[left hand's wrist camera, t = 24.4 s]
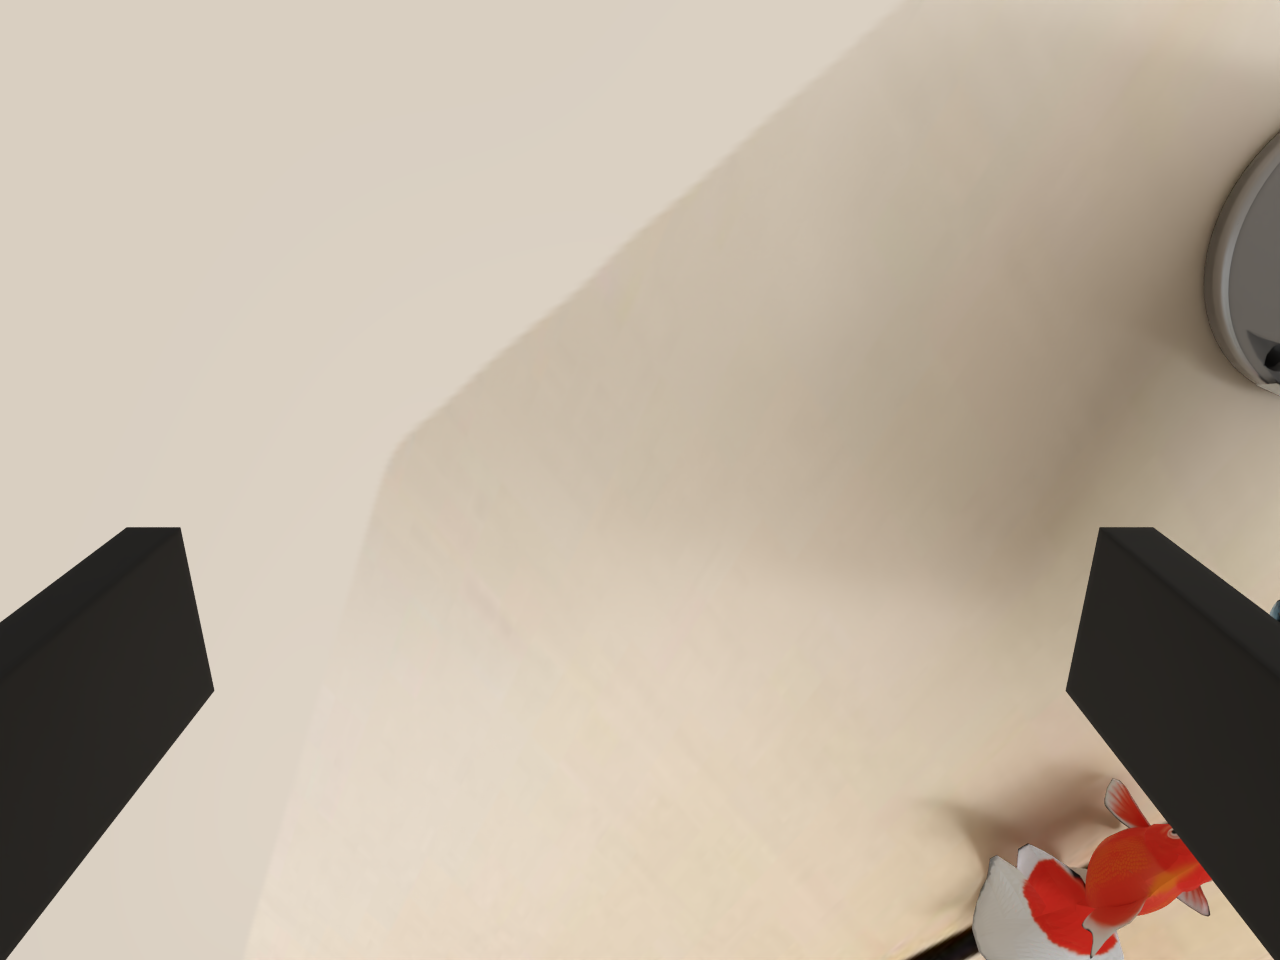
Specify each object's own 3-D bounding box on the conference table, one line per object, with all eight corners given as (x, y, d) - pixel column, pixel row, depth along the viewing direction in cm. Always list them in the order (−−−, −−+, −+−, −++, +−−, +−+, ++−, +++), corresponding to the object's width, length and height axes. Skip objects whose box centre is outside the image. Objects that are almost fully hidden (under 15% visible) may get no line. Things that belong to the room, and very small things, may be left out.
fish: (1273, 925, 52) (1286, 1056, 44) (1009, 929, 61) (979, 1038, 53) (1203, 758, 52) (1203, 859, 43) (949, 787, 61) (909, 875, 52)
